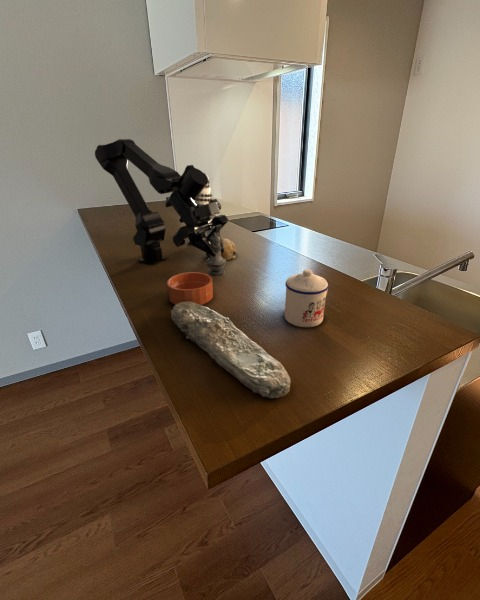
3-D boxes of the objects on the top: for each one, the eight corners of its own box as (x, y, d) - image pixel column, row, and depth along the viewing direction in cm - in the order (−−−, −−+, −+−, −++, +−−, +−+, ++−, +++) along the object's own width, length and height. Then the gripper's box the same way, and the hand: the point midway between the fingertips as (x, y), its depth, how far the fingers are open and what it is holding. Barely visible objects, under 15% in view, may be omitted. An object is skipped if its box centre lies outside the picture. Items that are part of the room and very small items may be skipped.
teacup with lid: (305, 333, 67) (310, 283, 62) (275, 316, 73) (277, 269, 68) (339, 315, 74) (347, 268, 68) (309, 301, 80) (313, 257, 75)
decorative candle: (186, 242, 125) (180, 174, 114) (203, 237, 131) (199, 172, 120) (202, 247, 120) (197, 176, 108) (219, 241, 126) (216, 174, 114)
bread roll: (227, 271, 107) (237, 251, 103) (200, 257, 107) (208, 237, 103) (233, 261, 116) (242, 242, 112) (208, 248, 115) (216, 229, 111)
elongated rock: (259, 420, 48) (303, 393, 54) (262, 394, 46) (308, 369, 52) (159, 317, 72) (197, 306, 78) (157, 297, 70) (197, 287, 75)
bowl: (160, 301, 81) (157, 283, 78) (189, 285, 89) (187, 269, 87) (194, 313, 75) (192, 294, 73) (221, 294, 84) (220, 277, 81)
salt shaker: (205, 276, 90) (203, 235, 85) (206, 268, 95) (204, 229, 90) (226, 276, 91) (225, 235, 85) (226, 268, 96) (225, 229, 90)
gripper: (176, 195, 78) (213, 246, 77) (222, 185, 91) (254, 229, 91) (157, 223, 85) (191, 270, 85) (203, 210, 99) (232, 250, 98)
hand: (219, 254), depth 90 cm, fingers closed on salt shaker, 3 cm apart
